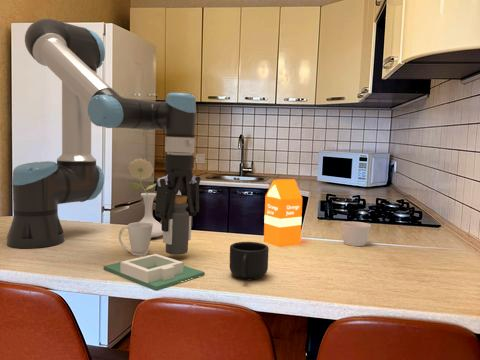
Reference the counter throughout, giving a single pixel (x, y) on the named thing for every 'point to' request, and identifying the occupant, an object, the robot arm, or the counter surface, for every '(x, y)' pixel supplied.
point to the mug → (249, 259)
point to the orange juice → (283, 213)
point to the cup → (138, 237)
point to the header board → (154, 271)
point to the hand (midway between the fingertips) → (177, 241)
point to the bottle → (179, 227)
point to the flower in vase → (142, 171)
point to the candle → (355, 233)
